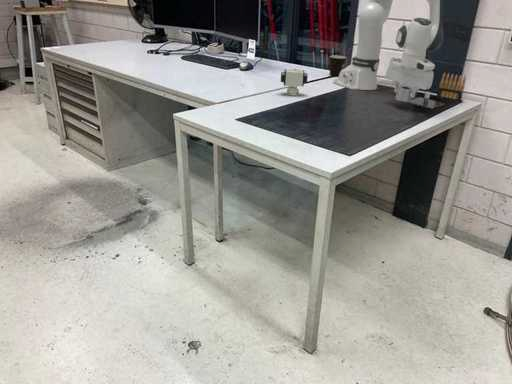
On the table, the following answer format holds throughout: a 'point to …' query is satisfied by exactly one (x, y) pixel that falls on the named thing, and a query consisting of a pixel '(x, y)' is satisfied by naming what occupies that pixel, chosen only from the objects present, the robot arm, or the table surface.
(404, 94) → the hub
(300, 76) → the pneumatic valve
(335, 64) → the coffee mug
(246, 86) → the table surface
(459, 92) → the ammunition clip
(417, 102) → the shaft stand
